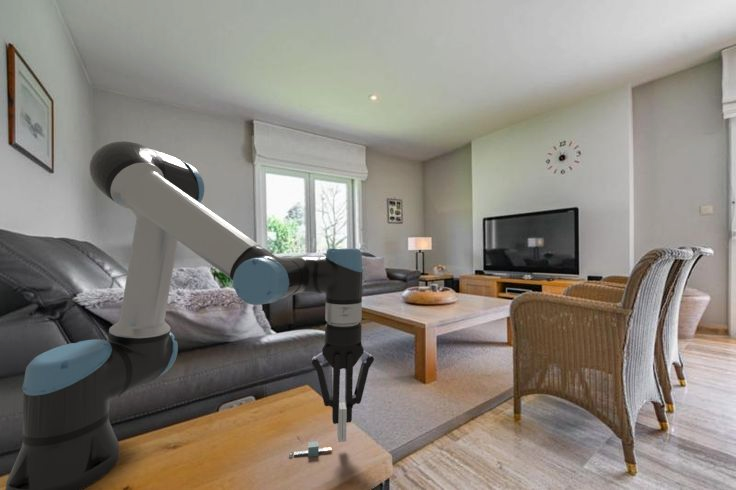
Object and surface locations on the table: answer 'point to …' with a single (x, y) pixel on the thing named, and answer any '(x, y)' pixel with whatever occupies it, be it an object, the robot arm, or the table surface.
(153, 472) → the table surface
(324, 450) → the bar
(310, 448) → the teal matte cube
